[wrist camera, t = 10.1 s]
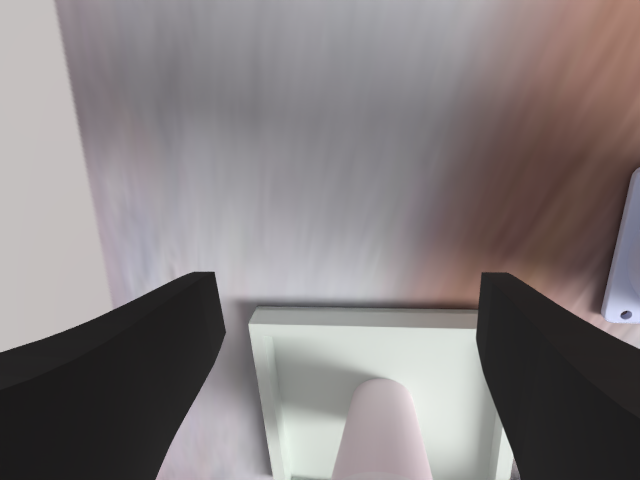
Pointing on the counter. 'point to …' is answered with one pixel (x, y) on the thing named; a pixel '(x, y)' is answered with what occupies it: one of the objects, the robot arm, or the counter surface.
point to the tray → (371, 363)
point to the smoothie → (381, 436)
